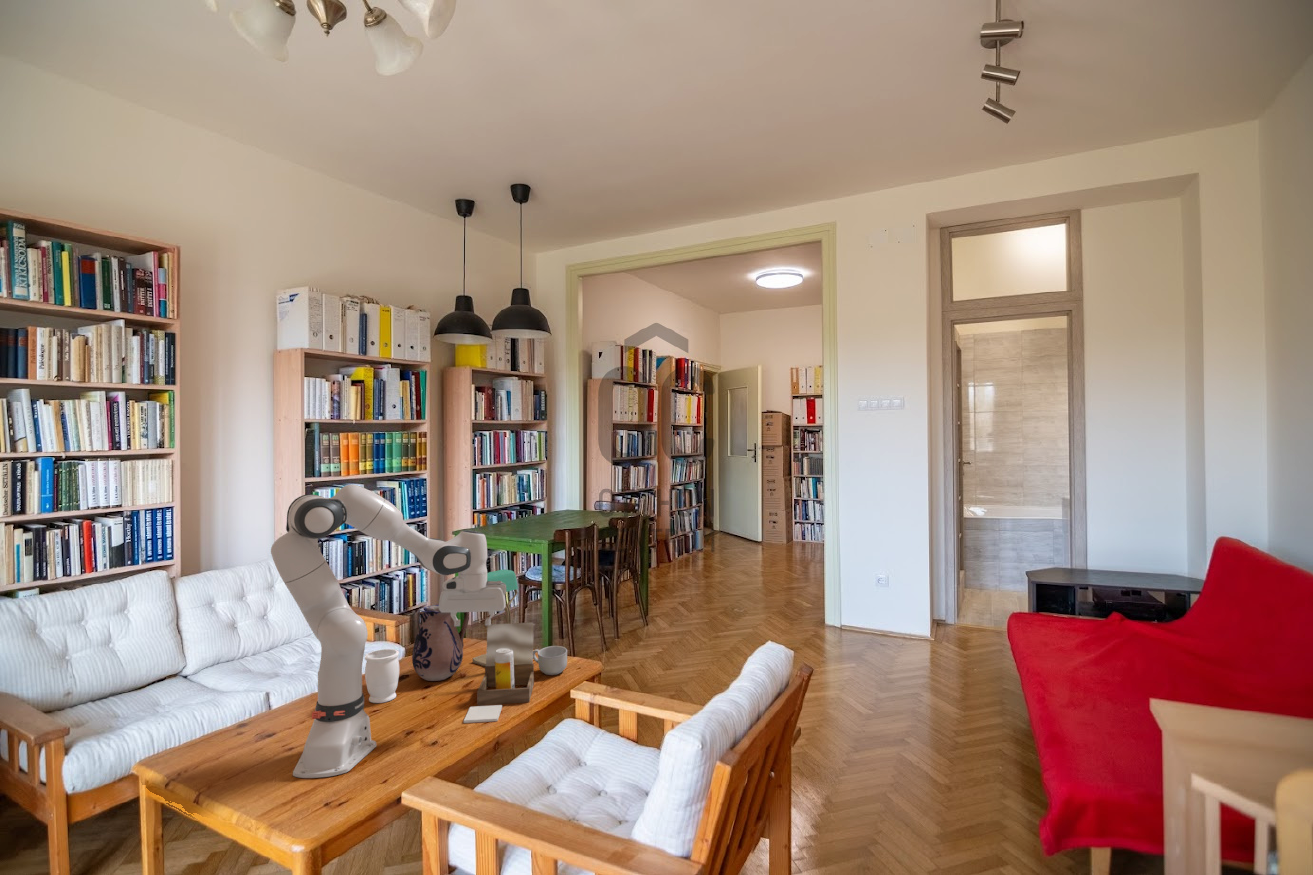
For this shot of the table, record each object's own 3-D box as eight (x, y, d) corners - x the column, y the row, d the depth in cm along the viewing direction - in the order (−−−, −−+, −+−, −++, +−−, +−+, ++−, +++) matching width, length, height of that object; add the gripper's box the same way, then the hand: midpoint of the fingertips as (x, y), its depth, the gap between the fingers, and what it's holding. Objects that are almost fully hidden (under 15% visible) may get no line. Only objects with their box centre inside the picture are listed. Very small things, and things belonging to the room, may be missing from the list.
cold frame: (529, 702, 205) (528, 639, 205) (477, 705, 204) (476, 642, 204) (535, 678, 226) (534, 621, 226) (487, 681, 224) (487, 624, 224)
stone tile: (497, 721, 192) (497, 718, 192) (463, 723, 191) (463, 720, 191) (502, 707, 201) (502, 704, 201) (470, 709, 200) (470, 706, 200)
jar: (405, 692, 215) (404, 648, 215) (389, 705, 205) (389, 659, 205) (376, 692, 216) (375, 648, 216) (358, 704, 206) (358, 658, 206)
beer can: (499, 691, 215) (497, 647, 215) (517, 691, 214) (515, 647, 214) (493, 698, 209) (492, 653, 209) (511, 698, 208) (510, 653, 208)
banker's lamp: (497, 676, 229) (495, 579, 229) (462, 664, 241) (460, 573, 242) (530, 663, 241) (528, 572, 242) (495, 653, 254) (494, 566, 254)
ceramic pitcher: (402, 679, 227) (401, 610, 227) (451, 662, 244) (450, 597, 245) (432, 689, 217) (431, 617, 217) (481, 671, 234) (480, 603, 235)
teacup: (573, 670, 233) (573, 648, 234) (553, 679, 224) (553, 657, 224) (545, 663, 241) (545, 642, 241) (525, 672, 232) (525, 651, 232)
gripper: (507, 578, 203) (507, 622, 202) (442, 580, 201) (442, 623, 200) (504, 582, 196) (504, 627, 196) (437, 584, 194) (437, 629, 194)
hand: (472, 625), depth 198 cm, fingers open, 8 cm apart
